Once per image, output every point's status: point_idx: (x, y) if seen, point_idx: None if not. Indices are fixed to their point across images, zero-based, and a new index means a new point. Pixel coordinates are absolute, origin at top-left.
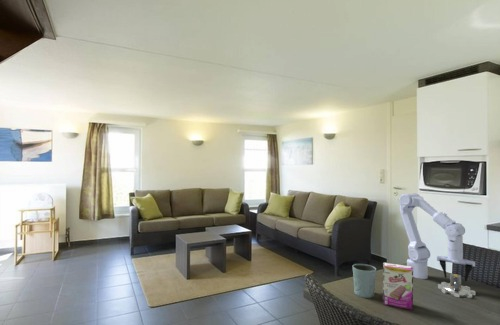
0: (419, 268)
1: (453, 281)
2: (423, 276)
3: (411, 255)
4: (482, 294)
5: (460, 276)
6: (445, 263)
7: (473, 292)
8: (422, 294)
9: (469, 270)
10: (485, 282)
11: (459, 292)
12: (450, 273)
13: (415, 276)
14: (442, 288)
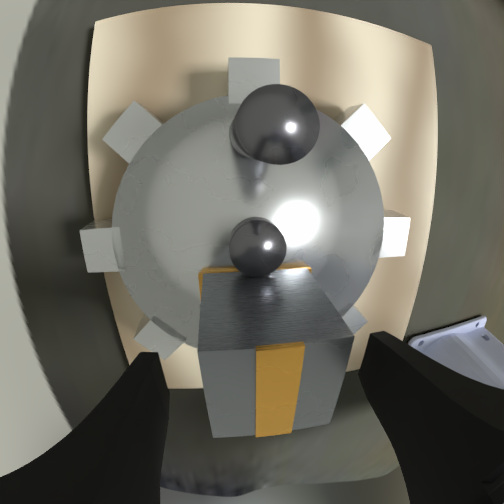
0: (488, 376)
1: (293, 298)
2: (439, 357)
3: None
4: (78, 326)
5: (210, 401)
6: (495, 475)
7: (95, 228)
8: (456, 67)
9: (32, 476)
10: None
11: (225, 105)
12: (326, 423)
13: (465, 338)
14: (384, 137)
